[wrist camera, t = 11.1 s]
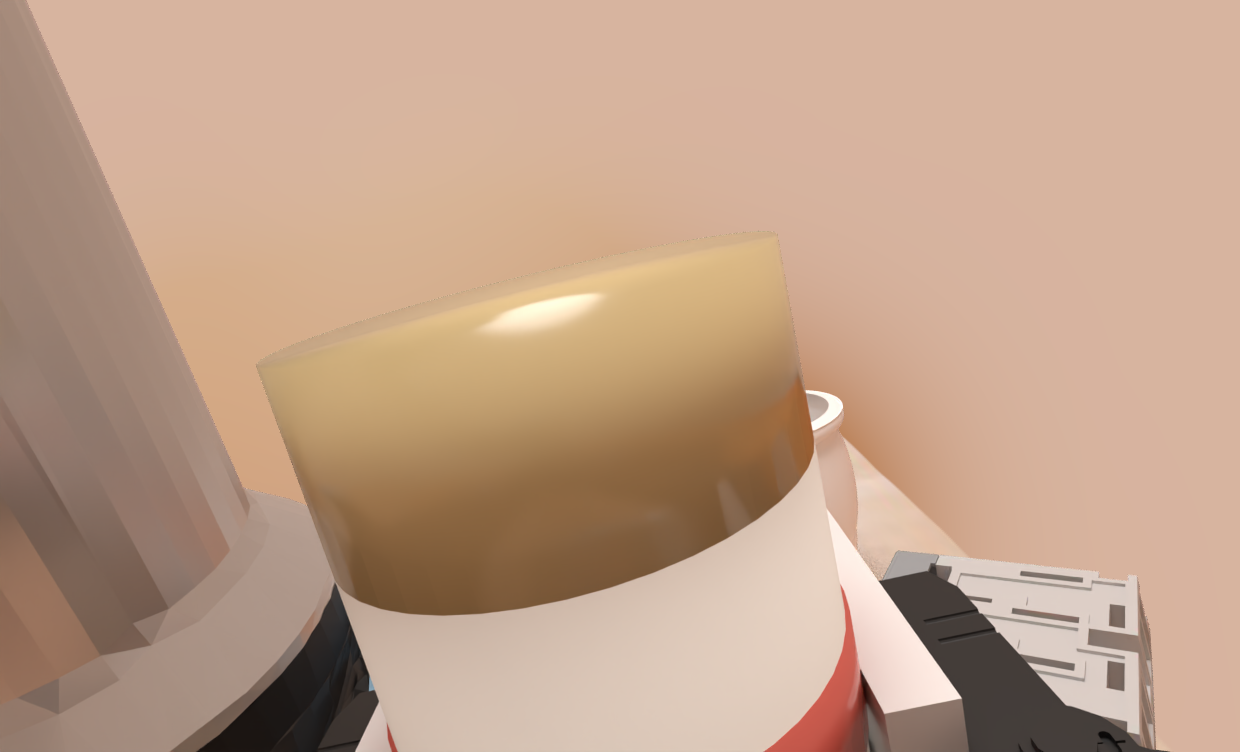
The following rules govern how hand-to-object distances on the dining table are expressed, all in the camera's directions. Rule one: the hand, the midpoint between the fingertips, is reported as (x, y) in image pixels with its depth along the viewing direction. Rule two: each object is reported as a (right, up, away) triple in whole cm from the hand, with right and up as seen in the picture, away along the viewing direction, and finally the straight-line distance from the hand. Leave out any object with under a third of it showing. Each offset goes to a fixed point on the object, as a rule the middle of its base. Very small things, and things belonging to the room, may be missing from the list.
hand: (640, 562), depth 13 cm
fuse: (+2, -9, -3) cm, 10 cm away
